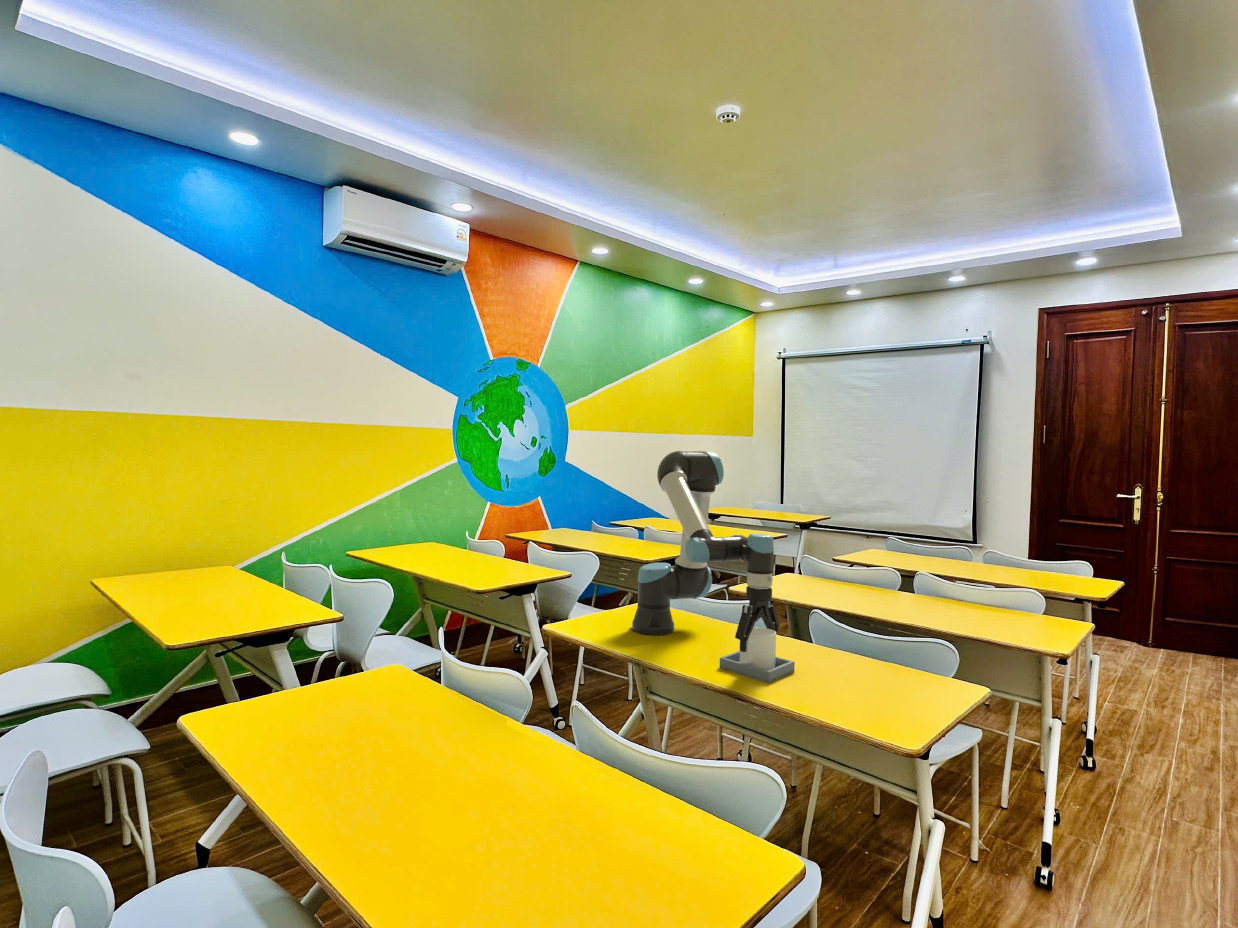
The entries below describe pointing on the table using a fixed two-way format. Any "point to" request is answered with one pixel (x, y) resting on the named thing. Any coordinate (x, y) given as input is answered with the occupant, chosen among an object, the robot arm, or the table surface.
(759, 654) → the mug
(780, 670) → the tray
